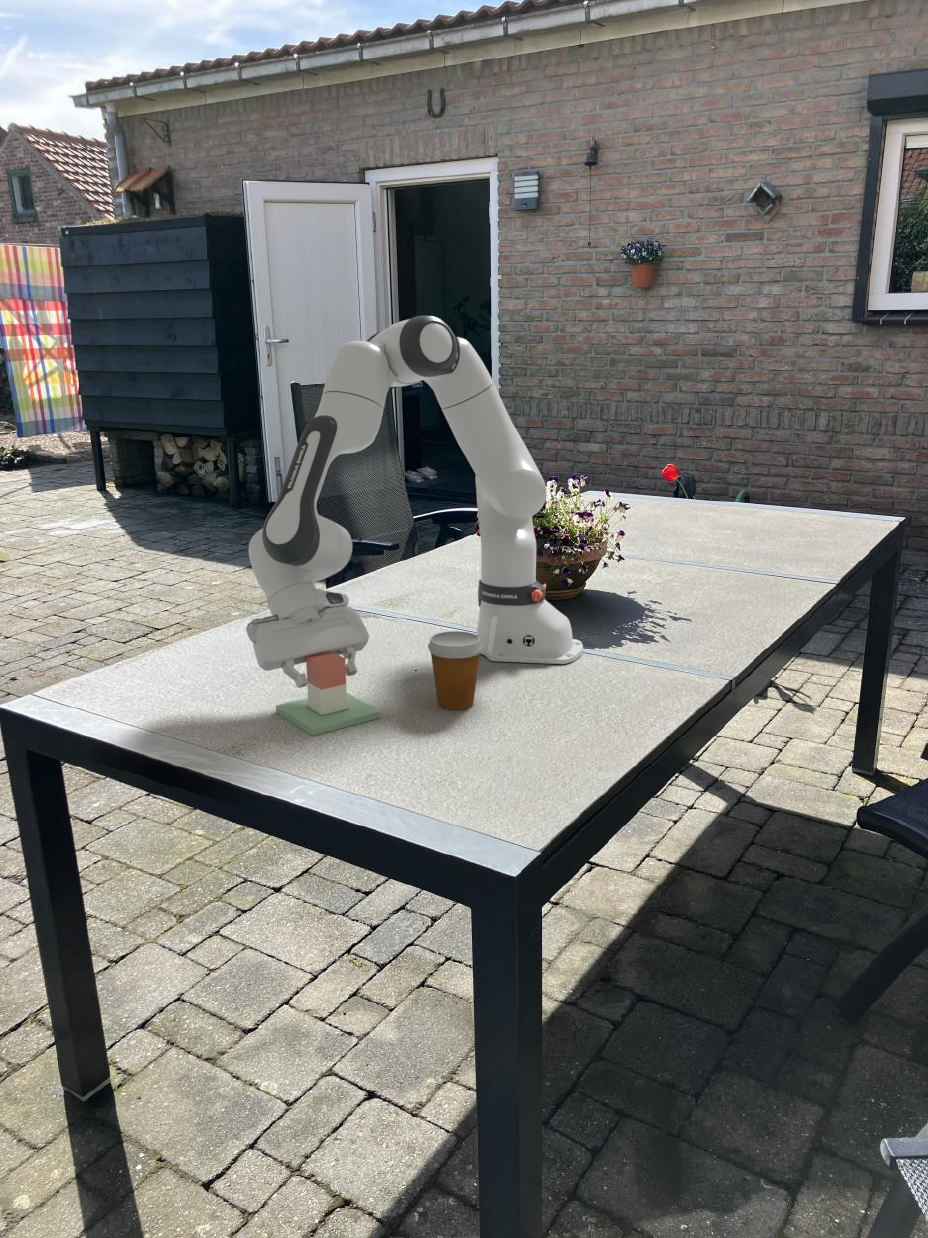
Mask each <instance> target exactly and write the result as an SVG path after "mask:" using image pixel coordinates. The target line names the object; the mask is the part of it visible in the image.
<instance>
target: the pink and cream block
mask: <svg viewBox="0 0 928 1238" xmlns="http://www.w3.org/2000/svg"><path fill="white" fill-rule="evenodd" d="M346 664H347V663H346V659H345V658H344V656H341V655H337V654H335V653H333V652H331V651H330V652H325V653H321V654H316V655H311V656H307V657H306V678H307V679H308V684H307V686H306V687H307V698H308V707H310V708H312V709H313V710H315V711H317V712H318V713H320V714H321V715H324V714H328V713H332V712H336V711H340V710H344V709H347V693H348V692H347V676H346Z"/></svg>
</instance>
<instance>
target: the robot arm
mask: <svg viewBox="0 0 928 1238" xmlns="http://www.w3.org/2000/svg"><path fill="white" fill-rule="evenodd" d="M421 381H424V382H425V383H426V384H428V386H429V387H430V388H431V390H432V391H433V392H434V395H435V397H436V400H437V402H438V404H439V406H440V408H441V411H442V413H443V416H444V417H445V419H446V421H447V423H448V425H449V428H450V430H451V432H452V434H453V436H454V438H455V440H456V442H457V444H458V446H459V447H460V449H461V451H462V453H463V455H464V456H465V458H466V459H467V461H468V463H469V465H470V466H471V468H472V470H473V472H474V473H475V488H476V489H475V490H476V491H475V492H476V505H477V518H478V519H477V520H478V525H479V535H480V579H479V580H478V586H477V587H478V588H477V601H478V607H479V613H478V614H479V615H478V621H477V628H476V633H475V634H476V635H478V636H479V637H480V640H481V643H482V644H483V648H482V649H481V652H480V655H483V656H485V657H486V658H487V659H488V660H489V661H492V662H502V663H504V662H505V663H526V664H527V663H529V664H549V665H553V664H554V665H555V664H556V665H565V664H569V663H573V662H575V661H576V660H578V659H579V657H581V655H582V654H583V651H584V645H583V642H582V641H581V640H579V639H576V638H573V631H572V626H571V625H572V624H571V622H570V620H569V618H568V617H567V616H566V615H565V614H563V613H562V612H560V611H559V610H558V609H557V608H556V607H554V605H552V604H551V603H550V602H548V600H546V589H547V588H546V587H547V584H546V583H544V584H542V583H540V582H539V581H538V580H537V579H536V577H537V575H536V574H537V573H536V572H537V539H536V536H535V530H534V524H533V523H534V522H533V516H535V515H537V514H538V513H539V511H540V510H541V509H542V508H543V507H544V504H545V503H546V498H547V494H548V493H547V487H546V483H545V480H544V478H543V476H542V474H541V472H540V470H539V467H538V466H537V464H536V463H535V461H534V459H533V457H532V454H531V453H530V451H529V449H528V448H527V446H526V444H525V442H524V440H523V439H522V437H521V435H520V434H519V432H518V430H517V427H515V425H514V423H513V421H512V419H511V417H510V415H509V412H508V411H507V409H506V406H505V405H504V402H503V400H502V398H501V396H500V393H499V391H498V390H497V387H496V384H495V383H494V380H493V379H492V376H491V375H490V372H489V370H488V369H487V367H486V365H485V364H484V362H483V360H482V358H481V357H480V356H479V354H478V352H477V351H476V350H475V348H474V347H473V345H472V344H471V343H470V342H469V341H468V340H467V339H465V338H463V337H460V336H456V335H455V333H454V332H453V330H452V328H451V327H450V326H449V325H448V324H447V323H446V322H444V320H442V319H441V318H439V317H436V316H433V315H417V316H414V317H412V318H409V319H405V320H401V321H398V322H396V323H393V324H391V325H390V326H389V327H387V328H385V329H383V330H382V331H378V332H375V333H374V334H373V335H371V336H369V338H368V339H367V340H350V341H347V342H346V343H344V344H343V345H341V346H340V347H339V348H338V351H337V352H336V354H335V357H334V359H333V361H332V363H331V365H330V368H329V371H328V375H327V377H326V380H325V383H324V387H323V390H322V395H321V399H320V402H319V406H318V409H317V411H316V413H315V416H314V417H313V418H312V419H311V420H310V421H309V422H308V423H307V424H306V425H305V427H304V429H303V431H302V434H301V436H300V438H299V439H298V440H299V441H298V442H297V446H296V448H295V451H294V454H293V456H292V460H291V463H290V465H289V467H288V469H287V474H286V476H285V480H284V481H283V484H282V487H281V490H280V493H279V495H278V496H277V497H278V498H277V499H276V501H275V503H274V504H273V506H272V508H271V510H270V512H269V513H268V514H267V516H266V518H265V521H264V522H263V526H262V528H261V529H260V530H258V531H257V532H256V533H254V535H253V536H252V537H251V539H250V540H249V543H248V557H249V561H250V565H251V568H252V571H253V575H254V576H255V578H256V582H257V584H258V586H259V588H260V589H261V590H262V592H263V593H264V594H265V597H266V598H265V599H266V604H267V607H268V610H269V612H270V615H268V616H265V617H261V618H253V619H251V621H250V622H249V623H248V624H247V625H246V628H245V631H246V634H247V635H248V639H249V640H250V641H251V642H252V647H253V650H254V654H255V655H254V656H255V658H256V661H257V664H258V666H259V668H261V669H262V670H263V671H265V672H269V671H274V670H278V669H282V671H283V673H284V674H285V675H286V676H288V678H290V679H291V680H293V681H294V683H295V685H296V687H297V689H300V688H305V687H307V684H308V679H307V674H306V673H305V672H303V673H300V672H299V671H298V670H297V669H296V667H295V665H300V664H305V663H306V657H307V656H311V655H316V654H321V653H325V652H330V651H331V652H333V653H335V654H337V655H339V656H341V655H342V657H343V658H345V660H347V663H345V664H346V677H350V676H351V677H352V676H355V675H356V674H357V672H358V668H357V666H356V664H355V661H356V653H357V652H360V651H362V650H364V648H365V647H366V645H367V644H368V642H369V638H370V635H369V632H368V629H367V628H366V626H365V624H364V622H363V620H362V618H361V616H360V615H359V613H358V612H357V610H355V608H353V607H352V606H349V603H350V599H349V596H348V595H347V594H346V593H344V592H339V591H330V590H329V591H328V590H324V589H319V588H316V585H315V583H317V582H320V581H325V580H326V579H327V578H330V577H332V576H335V575H336V574H337V573H340V572H341V571H343V570H344V569H345V568H346V567H347V566H348V564H349V563H350V561H351V559H352V554H353V549H354V546H353V539H352V536H351V534H350V533H349V531H348V529H346V528H345V527H344V526H342V525H340V524H338V523H336V522H335V521H333V520H331V519H329V518H326V517H324V516H322V515H321V514H319V513H318V509H317V504H318V499H319V496H320V494H321V491H322V488H323V485H324V483H325V480H326V476H327V473H328V469H329V467H330V465H331V463H333V460H334V459H335V458H337V457H338V456H339V455H345V454H346V455H347V454H354V453H358V452H361V451H363V450H365V449H366V448H368V447H369V446H370V445H371V444H373V442H374V441H375V439H376V436H377V435H378V433H379V430H380V428H381V423H382V418H383V415H384V414H383V413H384V409H385V407H386V406H385V405H386V399H387V394H388V391H389V390H392V389H397V388H400V387H407V386H411V385H416V384H418V383H420V382H421Z"/></svg>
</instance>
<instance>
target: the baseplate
mask: <svg viewBox="0 0 928 1238" xmlns="http://www.w3.org/2000/svg"><path fill="white" fill-rule="evenodd" d="M346 693H347V709H344V710H340V711H336V712H332V713H328V714H324V715H321V714H320V713H318V712H317V711H315V710H313V709H312V708H310V707H308V697H306V698H301V699H297V700H292V701H289V702H284V703H280V704H276V705H275V713H277V714H279V715H280V716H281V717H283V718H285V719H286V720H287V721H289V722H290V723H292V724H294V725H295V726H297V727H298V728H299V729H302V730H303V731H304V732H306V733H307V734H309V735H310V736H312V737H314V736H317V735H318V736H319V735H321V734H326V733H328V732H332V731H333V732H334V731H336V730H337V731H338V730H340V729H344V728H348V727H351V726H352V727H353V726H355V725H358V724H362V723H366V722H367V723H368V722H371V721H373V720H378V719H381V711H380V710H379V709H377V708H375V707H373V706H371V705H369V704H368V703H366V702H364V701H362V700H360V699H359V698H357V697H355V696H354V695H351V694H350V693H348V692H346Z"/></svg>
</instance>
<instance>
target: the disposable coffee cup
mask: <svg viewBox="0 0 928 1238" xmlns="http://www.w3.org/2000/svg"><path fill="white" fill-rule="evenodd" d="M429 640H430V641H429V643H428V645H427V649H428V650H429V653H430V658H431V664H432V670H433V671H432V672H433V677H434V684H435V685H434V687H435V691H436V698H437V699H436V700H437V705H438V707H440V708H442V709H445V710H452V711H458V710H465V709H469V708H471V707H472V706H473V705H474V703H475V702H474V701H475V693H476V686H477V680H478V679H477V678H478V671H479V663H480V657H481V654H480V652H481V649H482V648H483V644H482V643H481V640H480V637H479V636H478V635H476V633H472V632H467V631H459V630H458V631H444V632H443V631H442V632H439V633H435V634H434V635H432V636H431V637H430V639H429Z"/></svg>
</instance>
